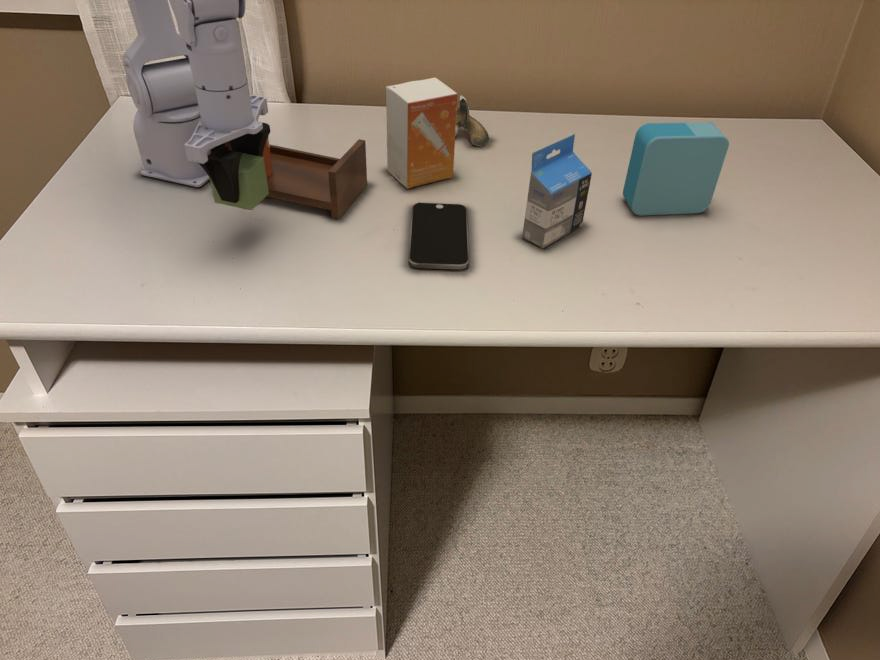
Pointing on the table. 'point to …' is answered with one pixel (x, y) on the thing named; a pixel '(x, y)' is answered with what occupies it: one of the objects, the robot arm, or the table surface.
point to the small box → (420, 131)
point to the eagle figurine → (470, 124)
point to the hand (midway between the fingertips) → (240, 191)
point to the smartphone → (439, 236)
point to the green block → (248, 183)
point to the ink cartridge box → (555, 194)
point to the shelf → (318, 177)
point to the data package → (674, 168)
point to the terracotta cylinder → (267, 159)
